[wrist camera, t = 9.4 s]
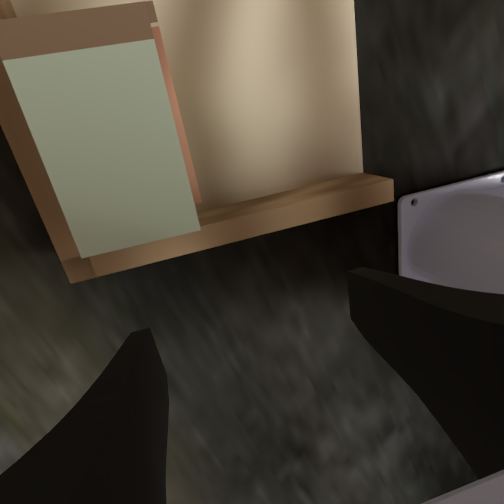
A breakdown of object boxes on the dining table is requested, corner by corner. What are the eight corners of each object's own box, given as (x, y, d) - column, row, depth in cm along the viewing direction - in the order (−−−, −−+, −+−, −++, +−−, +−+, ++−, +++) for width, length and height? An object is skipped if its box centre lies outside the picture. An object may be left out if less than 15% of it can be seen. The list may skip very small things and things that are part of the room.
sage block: (191, 200, 18) (200, 230, 13) (108, 219, 18) (81, 258, 12) (152, 46, 16) (145, 1, 10) (52, 61, 15) (-14, 21, 10)
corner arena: (338, -180, 15) (384, -264, 12) (360, 190, 21) (394, 201, 18) (-80, -154, 12) (-166, -252, 9) (87, 257, 19) (70, 283, 16)
